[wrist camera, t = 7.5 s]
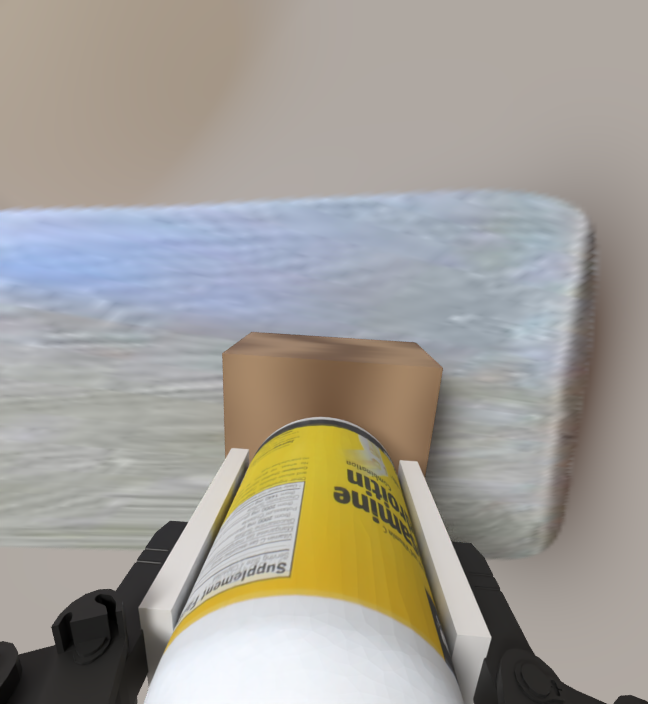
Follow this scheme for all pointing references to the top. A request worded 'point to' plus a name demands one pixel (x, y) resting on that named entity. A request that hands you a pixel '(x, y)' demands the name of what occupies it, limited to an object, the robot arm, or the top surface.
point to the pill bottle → (311, 586)
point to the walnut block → (331, 390)
